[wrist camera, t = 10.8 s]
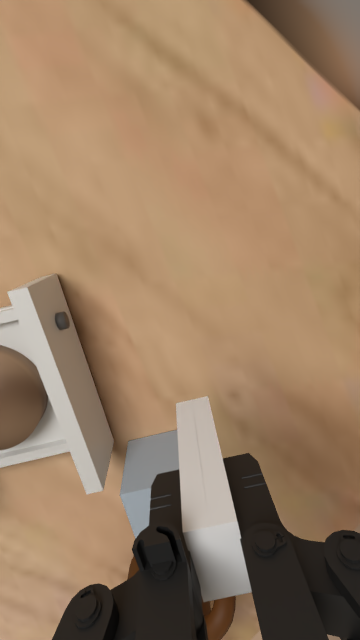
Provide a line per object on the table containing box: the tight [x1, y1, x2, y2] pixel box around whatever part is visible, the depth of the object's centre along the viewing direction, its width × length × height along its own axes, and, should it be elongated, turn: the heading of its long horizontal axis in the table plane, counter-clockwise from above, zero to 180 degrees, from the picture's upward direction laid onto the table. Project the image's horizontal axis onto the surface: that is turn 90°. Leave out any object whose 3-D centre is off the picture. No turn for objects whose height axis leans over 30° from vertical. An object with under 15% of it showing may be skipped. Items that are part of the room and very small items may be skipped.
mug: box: [128, 557, 236, 640], centre depth 28 cm, size 12×8×9 cm, turn 144°
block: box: [120, 430, 179, 539], centre depth 27 cm, size 5×5×6 cm
